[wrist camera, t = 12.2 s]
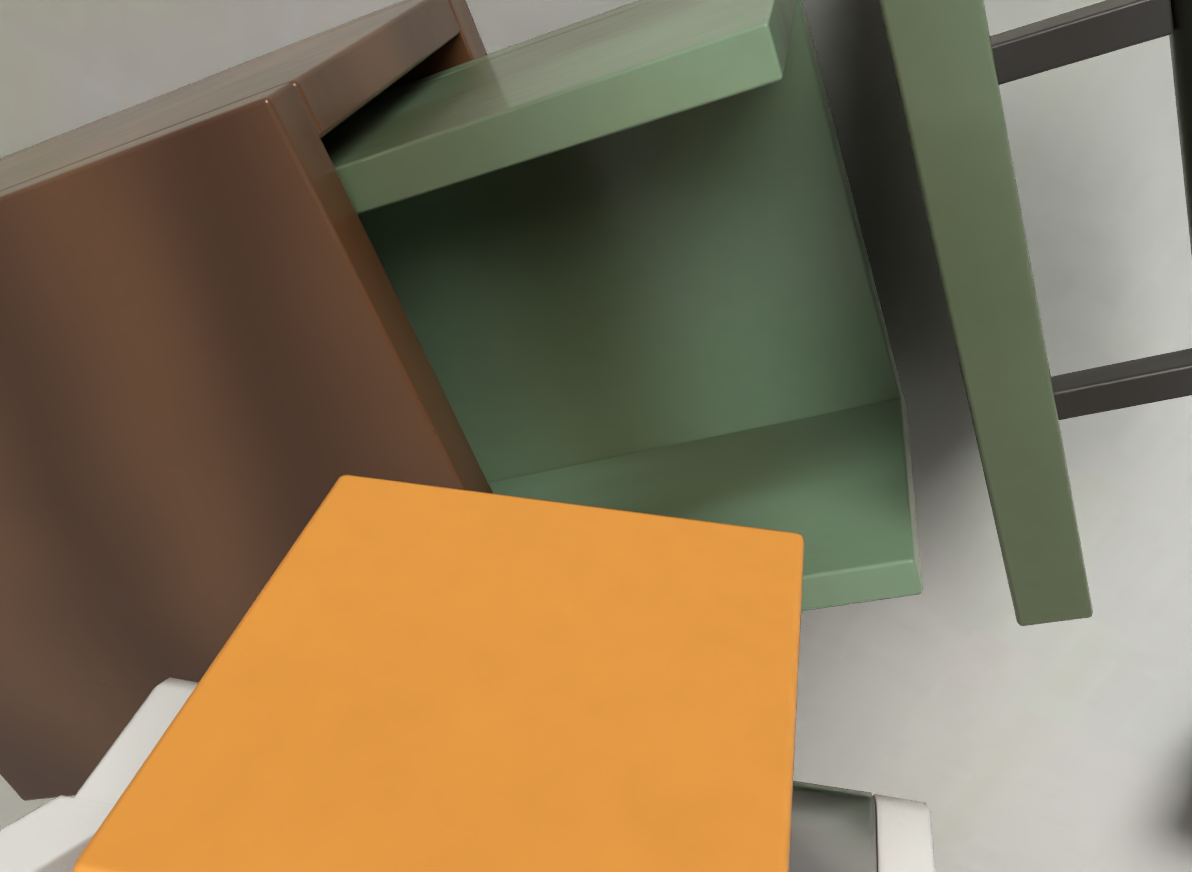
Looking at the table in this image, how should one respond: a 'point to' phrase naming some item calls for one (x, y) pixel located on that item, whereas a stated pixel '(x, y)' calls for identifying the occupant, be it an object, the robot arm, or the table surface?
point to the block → (486, 699)
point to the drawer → (740, 275)
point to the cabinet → (193, 375)
